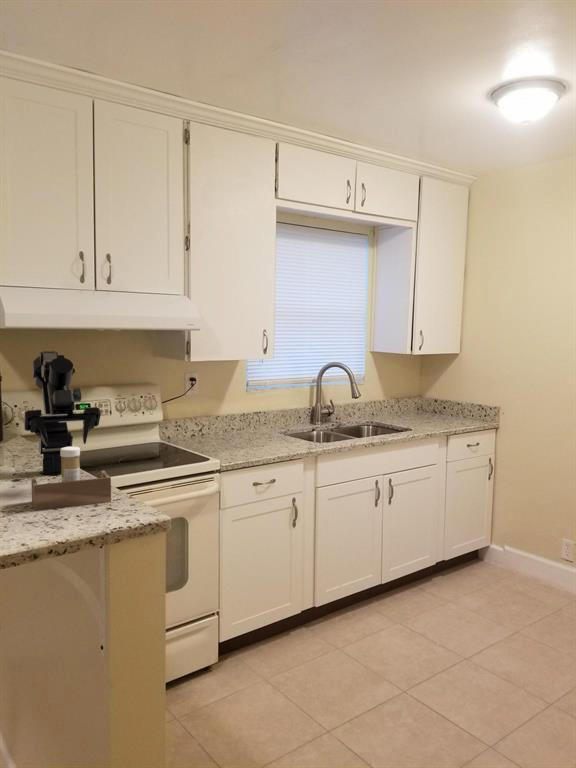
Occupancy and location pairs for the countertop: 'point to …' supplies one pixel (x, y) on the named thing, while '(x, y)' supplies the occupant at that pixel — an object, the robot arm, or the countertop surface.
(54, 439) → the robot arm
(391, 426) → the countertop surface
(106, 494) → the walnut crate
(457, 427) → the countertop surface
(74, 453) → the sprinkles bottle
